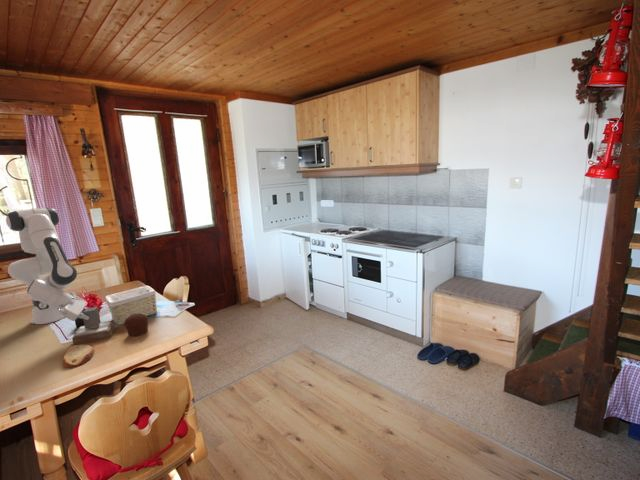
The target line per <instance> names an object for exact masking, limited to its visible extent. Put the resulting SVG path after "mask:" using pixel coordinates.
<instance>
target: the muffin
mask: <svg viewBox="0 0 640 480" xmlns="http://www.w3.org/2000/svg"><path fill="white" fill-rule="evenodd" d="M149 320H150V319H149V317H148V316H146V315H144V314H139V313H138V314H133V315H131V316H129V317H128V318H127V319H126V320H125V322H124V324H123V326H125V329H126V331H127V334H128V336H129V337H132V338H133V337H139V336H143V335H145V334H146V333H147V332H148V331H149V324H148V323H149Z"/></svg>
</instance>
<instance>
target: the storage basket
mask: <svg viewBox="0 0 640 480" xmlns="http://www.w3.org/2000/svg"><path fill="white" fill-rule="evenodd" d="M156 297H157V296H156V290H155V289H154V288H152V286H149V285H145V286H144V285H143V286H140V287H135V288H133V289H132V288H131V289H128V290H125V291H120V292H117V293H112V294H108V295H105V301H106V303H107V306H108V308H109V311H110V313H111V319H112V321H113V320H114V324H115V325H117V326H120V325H124V322H125V320H126V319H127V318H128V317H129V316H131V315H133V314H138V313H139V314H144V315H146V316H147V317H148V316H151V315H155V314H158V308H157V300H156Z"/></svg>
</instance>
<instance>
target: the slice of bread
mask: <svg viewBox="0 0 640 480" xmlns="http://www.w3.org/2000/svg"><path fill="white" fill-rule="evenodd" d="M94 354H95V349H94V347H92V346H91V345H90V344H86V343H85V344H80V345H71V346H70V347H69V348H67V350H66V352H65V353H64V356H63V359H62V365H63V366H64V367H65V368H70V369H75V368H77V367H80V366H83V365H85V364H86V363H87V362H88V361H90V360H91V359H92V358H93V357H94Z"/></svg>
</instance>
